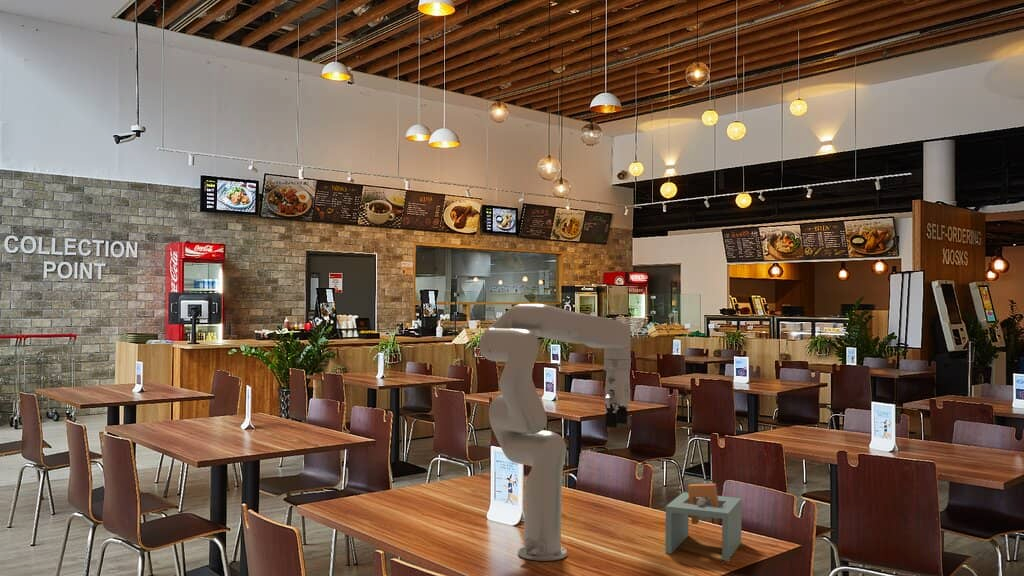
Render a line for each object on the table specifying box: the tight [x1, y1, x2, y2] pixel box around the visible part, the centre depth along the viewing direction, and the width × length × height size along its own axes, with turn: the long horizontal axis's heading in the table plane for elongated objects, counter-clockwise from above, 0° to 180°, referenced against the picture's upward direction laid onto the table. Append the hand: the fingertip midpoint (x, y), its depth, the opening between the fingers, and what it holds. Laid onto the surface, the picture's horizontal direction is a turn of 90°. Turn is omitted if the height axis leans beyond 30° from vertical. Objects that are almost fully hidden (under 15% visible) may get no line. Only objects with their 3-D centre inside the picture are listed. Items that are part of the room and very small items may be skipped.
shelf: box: [664, 491, 742, 562], centre depth 214 cm, size 20×16×14 cm
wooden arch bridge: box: [687, 482, 722, 525], centre depth 214 cm, size 7×3×10 cm, turn 64°
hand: (616, 425), depth 229 cm, fingers open, 9 cm apart
